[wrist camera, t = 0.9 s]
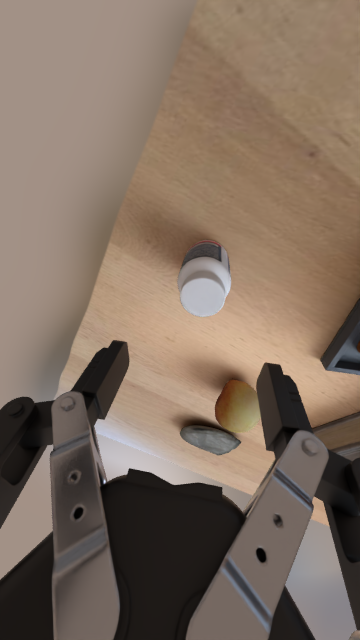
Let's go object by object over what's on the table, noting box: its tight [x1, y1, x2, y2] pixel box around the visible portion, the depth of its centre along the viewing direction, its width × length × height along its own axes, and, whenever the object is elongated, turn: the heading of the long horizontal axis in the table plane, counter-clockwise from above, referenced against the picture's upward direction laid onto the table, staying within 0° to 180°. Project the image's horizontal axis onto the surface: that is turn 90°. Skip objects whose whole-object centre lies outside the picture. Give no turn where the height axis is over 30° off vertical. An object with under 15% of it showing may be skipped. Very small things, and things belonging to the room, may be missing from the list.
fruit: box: [215, 378, 261, 433], centre depth 35 cm, size 8×8×8 cm
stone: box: [180, 425, 241, 455], centre depth 48 cm, size 13×9×3 cm
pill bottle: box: [178, 240, 231, 317], centre depth 22 cm, size 5×5×9 cm
